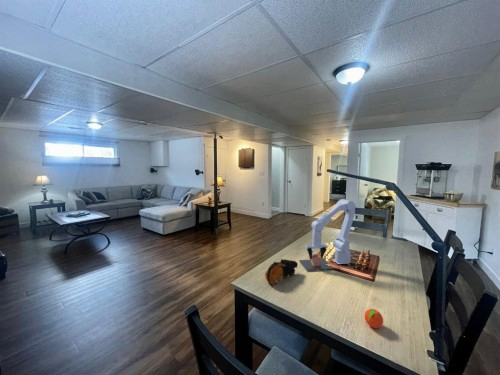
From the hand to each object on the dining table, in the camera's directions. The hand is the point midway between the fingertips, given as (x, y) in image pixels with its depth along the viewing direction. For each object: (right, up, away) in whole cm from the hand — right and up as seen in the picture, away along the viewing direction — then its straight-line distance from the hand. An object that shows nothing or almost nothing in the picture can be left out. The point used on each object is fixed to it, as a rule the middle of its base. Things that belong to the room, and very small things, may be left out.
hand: (316, 258), depth 144 cm
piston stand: (0, -5, +1) cm, 5 cm away
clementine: (+8, -11, -53) cm, 55 cm away
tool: (-25, -7, -15) cm, 30 cm away
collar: (0, -4, 0) cm, 4 cm away
